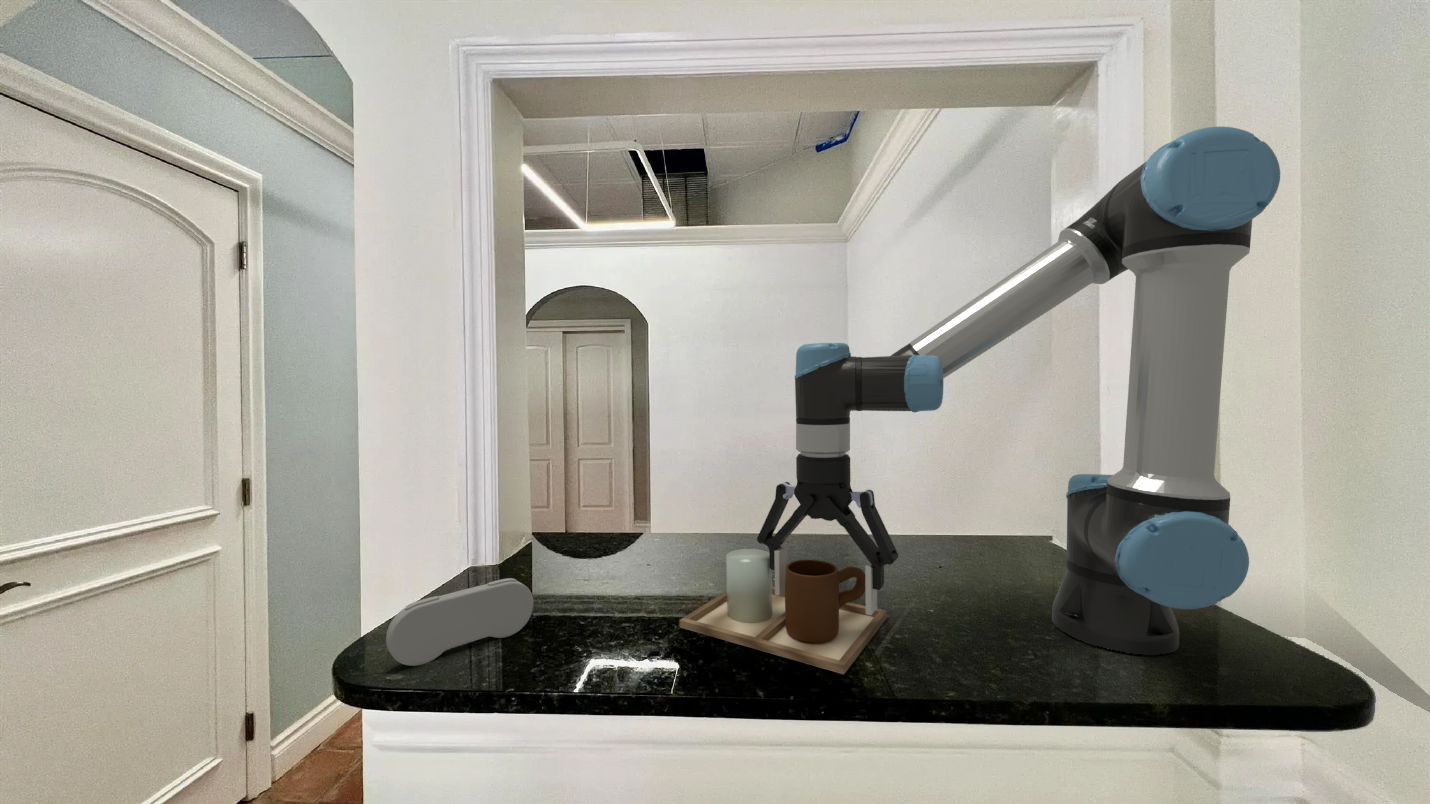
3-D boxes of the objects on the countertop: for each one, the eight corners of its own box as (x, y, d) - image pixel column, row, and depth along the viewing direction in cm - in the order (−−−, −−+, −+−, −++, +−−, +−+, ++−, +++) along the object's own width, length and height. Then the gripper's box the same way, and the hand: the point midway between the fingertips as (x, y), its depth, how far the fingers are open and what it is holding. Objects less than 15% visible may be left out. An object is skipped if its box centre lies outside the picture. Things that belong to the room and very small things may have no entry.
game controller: (528, 623, 87) (526, 571, 87) (534, 628, 85) (533, 574, 85) (386, 669, 74) (383, 607, 73) (390, 675, 72) (388, 612, 72)
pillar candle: (780, 609, 88) (779, 552, 87) (759, 626, 82) (758, 565, 82) (741, 600, 92) (740, 546, 91) (718, 616, 86) (717, 558, 85)
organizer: (887, 625, 85) (887, 610, 85) (844, 683, 69) (844, 666, 69) (743, 592, 98) (743, 579, 98) (679, 634, 82) (679, 620, 82)
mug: (856, 617, 85) (856, 556, 84) (877, 640, 77) (877, 573, 77) (779, 622, 83) (779, 560, 83) (793, 647, 76) (792, 578, 75)
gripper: (920, 455, 76) (921, 609, 76) (757, 445, 89) (759, 577, 90) (906, 462, 69) (907, 631, 70) (733, 451, 83) (735, 593, 84)
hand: (824, 601), depth 80 cm, fingers open, 13 cm apart
